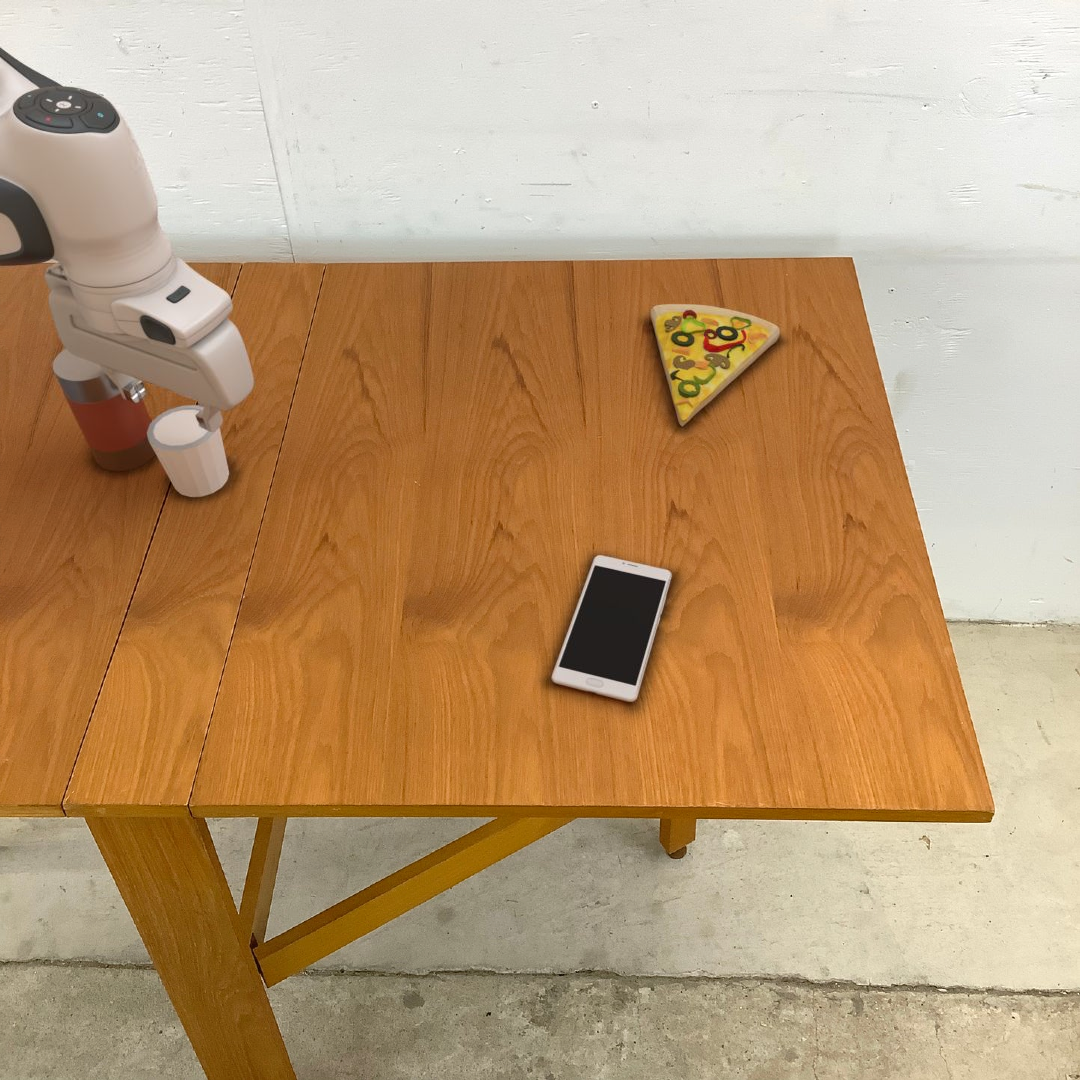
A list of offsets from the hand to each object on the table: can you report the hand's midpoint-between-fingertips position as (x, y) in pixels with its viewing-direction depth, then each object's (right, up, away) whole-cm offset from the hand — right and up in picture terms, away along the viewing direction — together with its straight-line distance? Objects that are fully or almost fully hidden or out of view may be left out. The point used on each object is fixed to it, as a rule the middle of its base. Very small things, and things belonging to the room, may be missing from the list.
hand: (173, 412), depth 95 cm
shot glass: (0, -6, +7) cm, 9 cm away
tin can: (-8, -3, +10) cm, 13 cm away
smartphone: (+42, -20, -7) cm, 47 cm away
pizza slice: (+54, +7, +18) cm, 57 cm away
